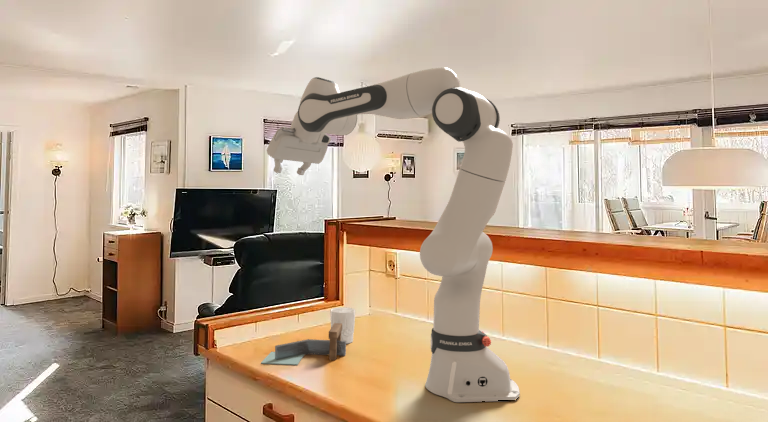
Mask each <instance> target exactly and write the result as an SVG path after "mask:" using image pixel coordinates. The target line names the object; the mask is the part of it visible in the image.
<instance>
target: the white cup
mask: <svg viewBox="0 0 768 422" xmlns="http://www.w3.org/2000/svg"><path fill="white" fill-rule="evenodd" d="M355 319H356V309H355V308H352V307H345V306H344V307H341V306H339V307H334V308H331V309H330V328H331V327H332V326H333V324H334V323H342V331H341V341H346V345H347V344H352V343H353V342H354V333H355V322H356V321H355Z"/></svg>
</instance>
